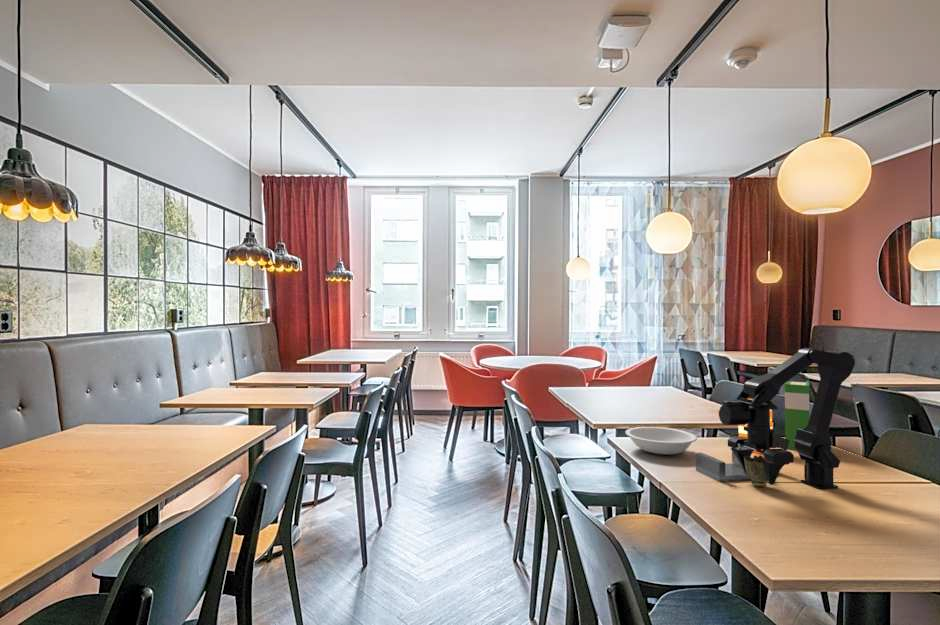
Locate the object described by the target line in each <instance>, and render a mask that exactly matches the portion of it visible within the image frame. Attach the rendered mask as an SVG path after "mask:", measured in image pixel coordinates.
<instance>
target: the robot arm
mask: <svg viewBox="0 0 940 625" xmlns="http://www.w3.org/2000/svg"><path fill="white" fill-rule="evenodd" d="M813 364H815V365H817V368H816V369H817V372H818V375H819V378H820V379H819V383H818V386H817V389H816V395H815V398H814V401H813V404H812V408H811V411H810V414H809V415H810V419H809V422H808V425H807V426H806V427H805V428H804V429H803V430H801V429H797V431H796V437H795V439H794V441H793V442H795V449H796V450H795V451H796V452H797V454H798V456H799V458H800V460H802V461H804V465H803V466H804V468H803V469H804V475H803V476H804V477H803V478H804V479H800V482H801V483H802V484H803V483H804V484H805V485H808V486H811V487H814V488H815V489H816V488H817V489H820V490H822V489H823V490H825V489H826V490H827V489H836V488H839V485H837V484H834V470H835V469H837V468H839V466H840V463H841V460H840V459H839V458H838V457H837V455H835V454H834V453H833V452H832V444H833V442H832V440H831V437H830V433H829V429H830V426H831V423H832V419H833V414H834V411H835V407H836V403H837V401H838V396H839V393H840V388H841V385H842V384H843V383H844V382H845V380H847V379H848V378H849V377H850V376H851V374H852V373H853V370H854V367H855V366H856V360H855V358H854V357H853V355H852V354H851V353H850V352H847V351H837V350H825V351H823V350H818V349H816V348H808V347H804V348H800V349H798V351H797V352H796V353H795V354H793V355H792V356H791V357H789V358H788V359H786V360H784V362H782V363H780V364H779V365H778V366H776V367H774V368H773V369H771V371H769V372H768V373H765V374H762V375H758V376H755V377H753V378H751V379H749V380H747V381H745V382H744V384H743V388H742V390H740V392H739V394H738V395H737V397H736V398H735V400H734V401H732V400H731V401H730V400H723V401H722V405H721V406H720V407H719V410H718V418H719V420H720V422H721V424H723V425H724V426H739V425H746V424H747V427H744V430H745V431H747V437H743V436H740V437H739V436H730V437H729V438H728V439H727V447H729V448H730V450H731V452H732V451H733V452H734V454H735V456H736V457H737V459H738V461H739V463H740V465H741V467H742V469H743V471H744V473H745V474H747V473H746V469H745V462H744V457H745V455H746V456H748V455H749V457H750V456H751V455H753V453H754V452H753V451H756V452H755V453H758V452H759V453H758V454H762V455H763V457H765V459H766V460H764V465H765V469H766V473H767V477H768V483H769V485H770V486H772V485H775V483H776V481H777V478H778V475H779V474H780V471H781V470H782V469H783V467H784V466H785V465H786V466H787V465H790V463H792V464H793V463H795V462H794V461H795V459H794V458H795V457H794V454H793V452H791V451H790V450H788V449H787V448H788V444H789V441H790V440H788V439H785V437H782V436H779V435H777V434H776V430H774V428H772V429H770V410H778V409H779V407H778V406H777V405H775V403H773V401H772V400H773V399H775V397H776V396H777V395H778V394H779V393H780V390H781V388H782V387H783V385H785V383H786V382H788V381H790V380H792V379H793V378H794V377H796V376H797V375H799V374H800V373H801V372H803V371H805V370H806V369H808V368H809V367H810V366H812V365H813ZM748 398H749V399H748ZM750 399H752V400H750ZM770 448H772V449H770ZM781 468H782V469H781Z"/></svg>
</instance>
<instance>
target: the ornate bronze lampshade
mask: <svg viewBox="0 0 940 625" xmlns="http://www.w3.org/2000/svg"><path fill="white" fill-rule="evenodd" d="M753 456H754V458H750V457H749V455H748V456H746V455H745V457H744V462H745V469H746V473H747V476H748V477H749V478H750V479H751V480H750V481H751V484H752V486H753V487H755V488H766V487H767V482H768V483H769V481H768V477H767V473H766V469H765V465H764V460H766V459H764V456H762V455H759V456H757V455H753Z"/></svg>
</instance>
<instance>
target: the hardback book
mask: <svg viewBox="0 0 940 625" xmlns="http://www.w3.org/2000/svg"><path fill="white" fill-rule="evenodd" d="M810 415H811V414H810V380H806V381H805V382H803V381H790V380H789V381H788V382H786V383H785V384H784V422H785V423H784V426H785V427H784V430H785V431H784V432H785V433H784V434H785V437H784V438H785V439H788V440H790V441H789V444H788V449H787V450H792V449H794V450H793V451H796V449H795V442H793V441H794V439H795V437H796V431H797V429H801V430H803V429H804V428H805V427H806V426H807V425H808V422H809V419H810Z"/></svg>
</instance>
